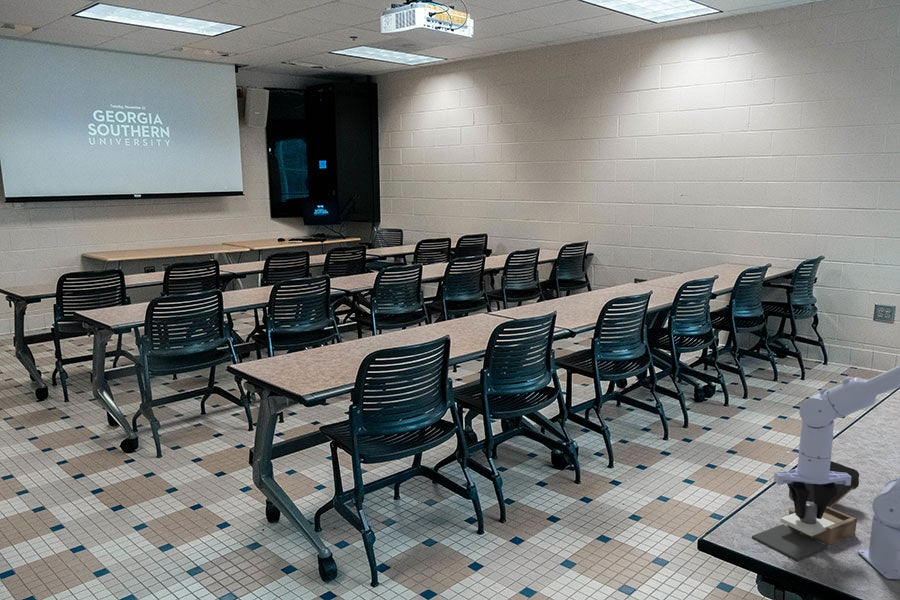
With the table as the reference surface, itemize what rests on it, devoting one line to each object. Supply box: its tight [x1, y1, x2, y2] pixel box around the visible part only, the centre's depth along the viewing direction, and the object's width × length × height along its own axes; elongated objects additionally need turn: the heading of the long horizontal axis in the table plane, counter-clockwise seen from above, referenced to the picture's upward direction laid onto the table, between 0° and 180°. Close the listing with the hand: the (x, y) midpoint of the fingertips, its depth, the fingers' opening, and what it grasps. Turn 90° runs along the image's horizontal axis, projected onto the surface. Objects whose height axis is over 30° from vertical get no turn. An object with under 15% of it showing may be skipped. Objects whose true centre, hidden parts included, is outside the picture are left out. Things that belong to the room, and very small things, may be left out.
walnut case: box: [787, 502, 858, 546], centre depth 143 cm, size 9×9×4 cm
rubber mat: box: [751, 523, 830, 562], centre depth 138 cm, size 10×10×1 cm
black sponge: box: [788, 460, 860, 508], centre depth 153 cm, size 16×8×4 cm, turn 123°
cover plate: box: [779, 501, 836, 537], centre depth 140 cm, size 8×7×4 cm
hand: (808, 516), depth 140 cm, fingers closed on cover plate, 3 cm apart
